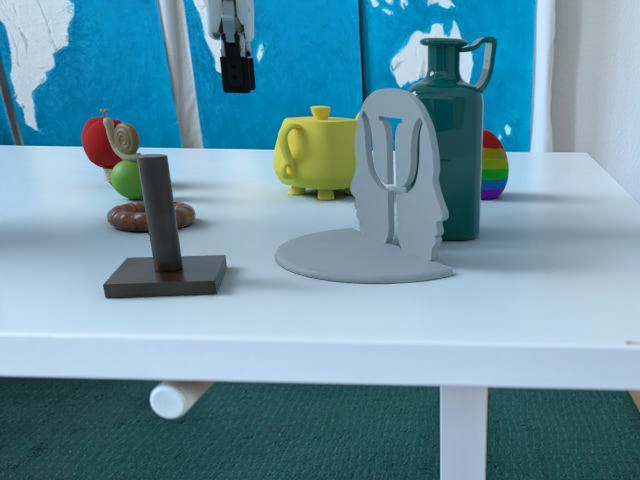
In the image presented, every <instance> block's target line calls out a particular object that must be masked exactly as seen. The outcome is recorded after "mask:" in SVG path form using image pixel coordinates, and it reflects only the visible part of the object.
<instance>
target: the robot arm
mask: <svg viewBox="0 0 640 480" xmlns="http://www.w3.org/2000/svg"><path fill="white" fill-rule="evenodd" d="M205 7H206V8H205V11H206V24H207V25H206V26H207V34H208V36H209V38H210V39H211V40H214V41H219V50H220V51H219V52H220V56H219V64H220V73H221V74H220V75H221V85H222V91H223V92H224V93H225V94H247V95H248V94H250V93H251V92H252V91H255V90H256V88H257V86H256V72H255V61H254V57H252V56H253V55H252V46H251V45H252V44H251V42H252V41H254V40H255V0H205Z"/></svg>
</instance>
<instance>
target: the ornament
mask: <svg viewBox="0 0 640 480" xmlns="http://www.w3.org/2000/svg"><path fill="white" fill-rule="evenodd" d="M359 112H360V113H359ZM359 112H358V113H359V116H358V121H357V127H356V136H355V157H356V169H355V173H354V177H353V181H352V183H351V187H350V190H351V193H352V194H351V195H352V196H353V197H354V208H355V210H356V212H355V216H356V218H357V220H358V224H359V230H357V229H354V228H352V227H347V228H338V229H328V230H322V231H317V232H311V233H308V234H303V235H300V236H297V237H294V238H292V239H290V240H287V241H285V242H284V243H282V244H281V245H280V246H278V248H277V249H276V251H275V254H274V259H275V262H276V263H277V264H278V265H279V266H280V267H281V268H282V269H284V270H286V271H289V272H292V273H294V274H297V275H301V276H304V277H308V278H312V279H318V280H323V281H331V282H339V283H340V282H341V283H354V284H400V283H401V284H402V283H415V282H424V281H430V280H431V281H433V280H436V279H437V280H438V279H443V278H446V277H451V276H454V269H453V267H450V266H448V265H445V264H443V263H441V262H438V261H437V259H438V255H439V253H438V252H439V247H440V245H441V244H442V242H443V240H442V237H441V235H443V233H444V229H443V225H442V222H443V221H444V220H447V219H448V217H449V212H448V209H447V206H446V204H445V201H444V198H443V195H442V192H441V188H440V184H439V175H440V157H439V149H438V143H437V138H436V133H435V129H434V126H433V123H432V120H431V118H430V116H429V113H428V111H427V110H426V108H425V106H424V104H423V103H422V102H421V101H420V100H419V99H418V98H417V97H416V96H415V95H414V94H412V93H411V92H409V91H407V90H406V89H405V90H404V89H401V88H396V87H395V88H394V87H385V88H379V89H376V90H374V91H372V92H371V93H370V94H368V96H367V97H366V98H365V100H364V101H363V103H362V106H361V108H360V110H359ZM386 118H391V119H400V120H401V122H399V123H398V124H397V126H396V127H395V128H396V129H395V135H394V136H393V129H392V126H391V124H390V122H389V120H387V119H386ZM422 123H423V124H422ZM421 124H422V127H421V131H420V155H419V168H418V175H417V179H416V183H415V185H414V187H413V188H412V189H411V190H410V191H409V192H408V193H406V192H405V193H403V192H399V193H395V190H392V189H390V188H388V187H387V185H394V184H395V187H396V188H406V187H407V186H409V185H410V184H411V183H412V182H413V180H414V177H415V174H416V168H417V143H418V134H419V129H420V126H421ZM393 137H394V138H393ZM394 160H395V162H394ZM394 163H395V165H394ZM394 166H395V171H394ZM394 173H395V175H394ZM394 177H395V180H394ZM395 197H396V198H395ZM395 199H396V200H395ZM395 203H396V220H395ZM395 221H396V230H395ZM395 231H396V234H397V240H398V244H399V246H398V245H396V244H393V243H392V241H393V239H394V236H395Z"/></svg>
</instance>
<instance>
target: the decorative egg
mask: <svg viewBox="0 0 640 480" xmlns="http://www.w3.org/2000/svg"><path fill="white" fill-rule="evenodd" d="M509 165H510V164H509V160H508V155H507V152H506V150H505V147H504V145H503V143H502V141H501V140H500V139H499V137H498V136H497V135H496V134H494V133H493V132H492V131H490V130H488V129H483V139H482V172H481V200H493V199H498V198H499V197H501V195H502V193H503V192H504V190H505V189H506V186H507V184H508V180H509V172H510V169H509V167H510V166H509Z"/></svg>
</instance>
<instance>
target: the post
mask: <svg viewBox="0 0 640 480" xmlns="http://www.w3.org/2000/svg"><path fill="white" fill-rule="evenodd" d="M137 160H138V166H139V172H140V179H141V185H142V192H143V198H142V199H143V201H144V205H145V211H146V217H147V224H148V230H149V232H148V237H149V242H150V249H151V254H152V256H140V257H139V256H138V257H137V256H135V257H134V256H133V257H126V258H125V260H123V262H122V263H121V264H120V265H119V266H118V268H116V270H114V271H113V272H112V274H110V276H109V277H108V278H107V279H106V280H105V282H104V283H103V284H102V287H103V288H102V289H103V292H104V297H105V298H106V299H111V298H113V299H114V298H137V297H141V298H142V297H164V296H165V297H166V296H167V297H168V296H190V295H191V296H192V295H215V294H218V292H219V291H218V290H219V288H220V285H221V282H222V280H223V278H224V275H225V273H226V270H227V267H228V264H227V256H226V254H211V255H210V254H209V255H208V254H207V255H182V251H181V250H182V249H181V244H180V235H179V228H177V221H176V214H175V206H174V202H175V200H174V193H173V186H172V179H171V170H170V164H169V157H168V155H167V154H165V153H145V154H144V153H143V154H141V155H138V156H137Z"/></svg>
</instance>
